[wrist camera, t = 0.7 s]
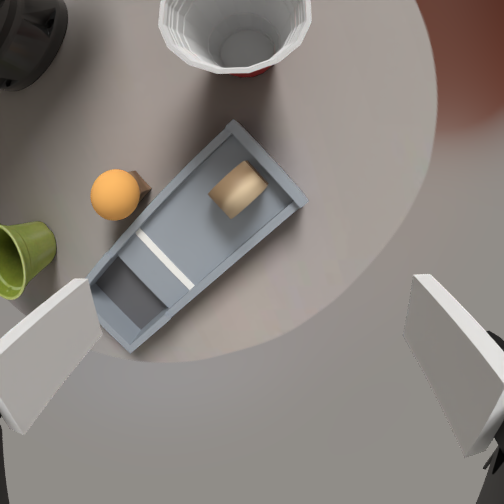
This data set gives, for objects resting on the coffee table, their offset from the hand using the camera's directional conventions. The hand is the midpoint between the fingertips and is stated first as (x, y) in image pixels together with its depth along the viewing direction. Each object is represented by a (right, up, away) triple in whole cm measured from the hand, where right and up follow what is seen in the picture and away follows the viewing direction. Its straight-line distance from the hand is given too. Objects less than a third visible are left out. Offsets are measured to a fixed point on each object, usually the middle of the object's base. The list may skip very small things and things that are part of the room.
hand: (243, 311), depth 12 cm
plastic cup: (0, +23, +16) cm, 28 cm away
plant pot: (-28, +4, +25) cm, 38 cm away
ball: (-13, +8, +17) cm, 23 cm away
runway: (-8, +3, +23) cm, 25 cm away
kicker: (-1, +8, +18) cm, 20 cm away
